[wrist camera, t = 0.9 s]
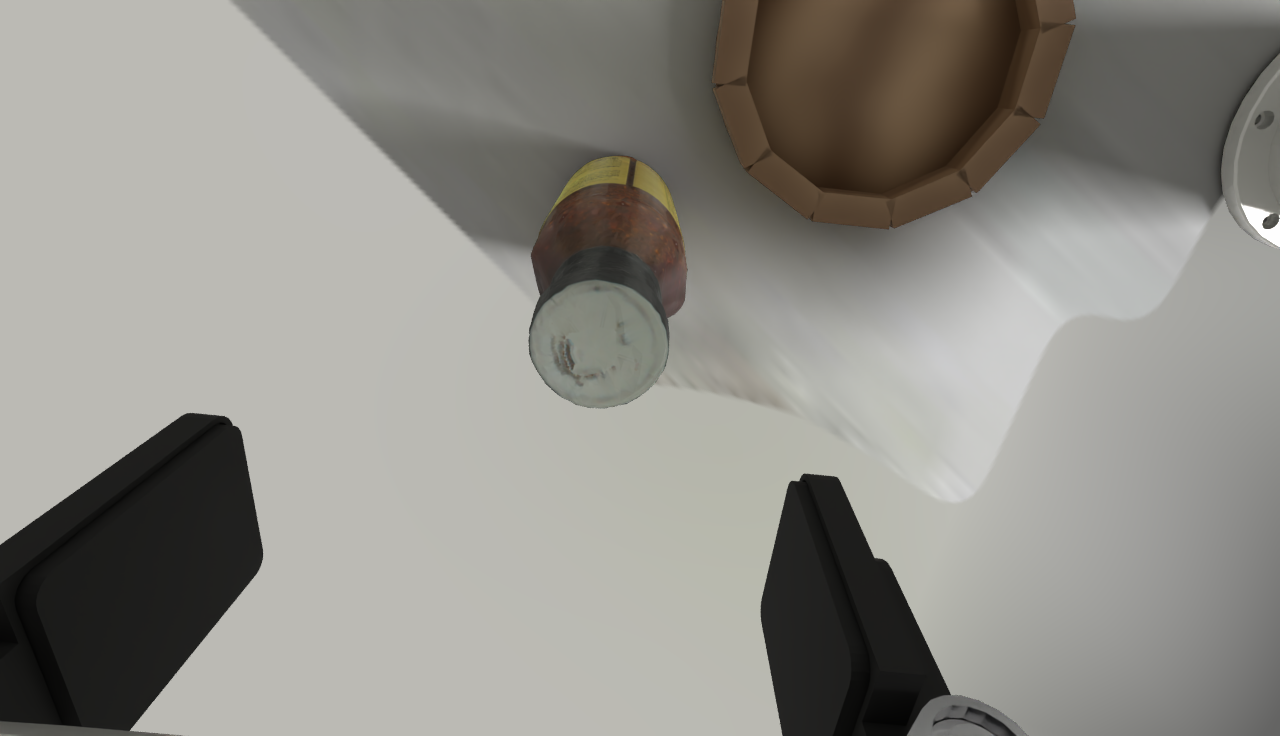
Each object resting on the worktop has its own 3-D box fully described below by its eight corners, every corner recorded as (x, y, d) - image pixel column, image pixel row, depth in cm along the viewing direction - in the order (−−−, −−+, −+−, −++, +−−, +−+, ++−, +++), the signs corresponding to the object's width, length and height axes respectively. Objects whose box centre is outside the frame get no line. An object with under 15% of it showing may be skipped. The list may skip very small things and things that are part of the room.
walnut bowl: (1091, -120, 29) (1129, -137, 27) (980, 230, 36) (1002, 241, 33) (742, -159, 29) (749, -180, 27) (695, 200, 36) (697, 209, 33)
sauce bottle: (551, 244, 37) (443, 405, 19) (581, 134, 34) (491, 200, 16) (658, 280, 38) (654, 468, 20) (696, 175, 35) (730, 281, 17)
